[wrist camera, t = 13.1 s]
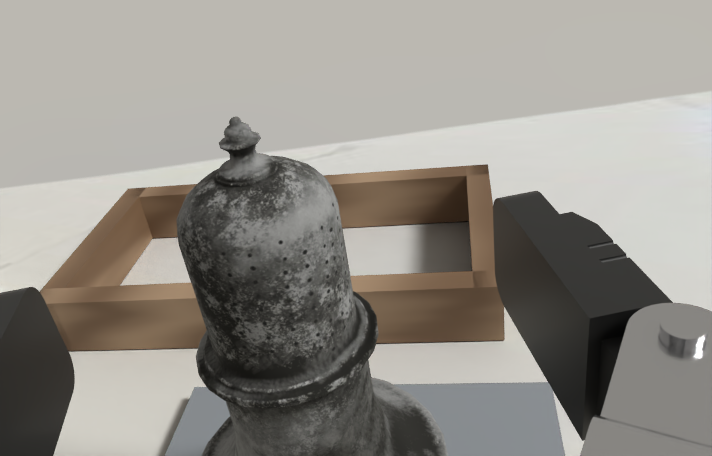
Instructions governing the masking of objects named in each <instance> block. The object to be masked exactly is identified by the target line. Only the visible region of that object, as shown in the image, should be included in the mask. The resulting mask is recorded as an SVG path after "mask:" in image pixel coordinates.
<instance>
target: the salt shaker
mask: <svg viewBox="0 0 712 456" xmlns="http://www.w3.org/2000/svg"><path fill="white" fill-rule="evenodd" d="M229 123H230V125H229V126H228V127H227V128H226V129H225V131H224V135H225V138H223V139H222V140H221V141H220V142H219V145H220V148H221V149H223V150H226V151H228V152H229V154H230V160H228V161H226V162H225V163H224V164H222V166H221V167H220V168H219V169H217V170H215V171H213V172H212V173H210V174H209V175H208V176H206V177H205V178H204V179H203V180H201V181H200V182H199V183H198V184H197V185H196V186H195V187H193V189H192V190H191V191H190V192H189V193H188V194H187V196H186V198H185V200H184V202H183V204H182V207H181V209H180V211H179V214H178V217H177V219H176V220H177V235H178V242H179V246H180V249H181V252H182V256H183V259H184V262H185V265H186V268H187V271H188V274H189V277H190V280H191V283H192V286H193V289H194V293H195V296H196V299H197V302H198V305H199V308H200V311H201V314H202V317H203V320H204V323H205V326H206V332H205V334H204V335H203V337H202V339H201V340H200V343H199V347H198V351H197V355H196V361H197V367H198V373H199V376H200V377H201V379H202V380H203V382H204V384H205V385H206V387H207V388H208V390H210V391H211V392H213V393H214V394H216V395H217V396H218V397H220V398H221V399H223V400H224V401H226V404H227V407H228V410H229V413H230V417H229V418H228V419H227V420H226V421H225V422H224V423H223V425H222V426H221V427H220V428H219V429H218V431H217V432H216V433H215V434H214V436H213V437H212V438H211V439H210V441H209V442H208V443H207V445H206V447H205V450H204V452H203V454H202V456H448V453H447V448H446V444H445V439H444V435H443V433H442V431H441V430H440V428H439V426H438V424H437V423H436V421H435V419H434V418H433V416H432V414H431V413H430V411H429V410H427V409H426V408H425V407H424V406H423V405H422V404H421V403H420V402H419V401H418V400H417V399H416V398H415V397H413V396H412V395H411V394H410V393H408V392H406V391H404V390H402V389H400V388H398V387H396V386H395V385H393V384H391V383H389V382H387V381H383V380H380V379H376V378H372V377H371V374H370V368H369V362H368V359H369V357H370V356H371V354H372V353H373V351H374V349H375V345H376V342H377V338H378V334H379V333H378V324H377V316H376V314H375V312H374V310H373V309H372V307H371V305H370V303H369V302H368V301H367V300H365V299H364V298H363V297H362V296H360V295H359V294H358V293H357V292H355V291H353V289H352V283H351V277H350V271H349V265H348V259H347V253H346V248H345V242H344V236H343V230H342V224H341V218H340V212H339V206H338V200H337V198H336V196H335V193H334V191H333V189H332V186H331V185H330V183H329V182H328V180H327V179H326V178H325V177H324V176H323V175H322V174H320V173H319V172H318V171H317V170H316V169H314V168H313V167H311V166H309V165H308V164H306V163H303V162H299V161H296V160H292V159H289V158H285V157H279V156H268V155H265V154H260V153H256V151H255V145H256V144H257V143H258V141H259V140H260V139H261V137H260V135H259V133H256V132H252V131H251V128H250V127H249V125H248V124H246V123H243V122H241V120H240V118H238V117H233V118H231V119H230V121H229Z"/></svg>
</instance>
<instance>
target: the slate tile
mask: <svg viewBox="0 0 712 456" xmlns="http://www.w3.org/2000/svg"><path fill="white" fill-rule="evenodd" d="M395 386H396V387H398V388H400V389H402V390H404V391H406V392H408V393H410V394H411V395H412V396H413V397H415V398H416V399H417V400H418V401H419V402H420V403H421V404H422V405H423V406H424V407H425V408H426V409H427V410H429V411H430V413H431V414H432V416H433V418H434V419H435V421H436V423H437V424H438V426H439V428H440V430H441V431H442V433H443V435H444V439H445V444H446V448H447V453H448V456H565V453H564V447H563V442H562V437H561V432H560V426H559V421H558V416H557V411H556V406H555V400H554V395H553V390H552V388H551V386H550V384H549V382H538V383H467V384H397V385H395ZM229 417H230V413H229V410H228V407H227V404H226V401H224V400H223V399H221V398H220V397H218V396H217V395H216V394H214V393H213V392H211V391H210V390H208V388H207V387H195V388H194V390H193V392H192V395H191V397H190V399H189V401H188V404H187V406H186V408H185V410H184V413H183V415H182V417H181V420H180V422H179V424H178V426H177V429H176V431H175V433H174V435H173V438H172V440H171V442H170V445H169V447H168V449H167V451H166V454H165V456H202V454H203V452H204V450H205V447H206V445H207V443H208V442H209V441H210V439H211V438H212V437H213V436H214V434H215V433H216V432H217V431H218V429H219V428H220V427H221V426H222V425H223V423H224V422H225V421H226V420H227V419H228V418H229Z"/></svg>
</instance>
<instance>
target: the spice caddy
mask: <svg viewBox="0 0 712 456" xmlns="http://www.w3.org/2000/svg"><path fill="white" fill-rule="evenodd" d="M324 177H325V178H326V179H327V180H328V182H329V183H330V185H331V186H332V189H333V191H334V193H335V196H336V198H337V200H338V206H339V212H340V218H341V224H342V228H348V227H367V226H385V225H404V224H422V223H441V222H459V221H469V233H470V249H471V265H472V271H461V272H437V273H413V274H389V275H365V276H350V277H351V283H352V289H353V291H355V292H357V293H358V294H359V295H360V296H362V297H363V298H364V299H365V300H367V301H368V302H369V303H370V305H371V307H372V309H373V310H374V312H375V314H376V316H377V324H378V333H379V334H378V338H377V342H376V343H409V342H450V341H491V340H504V305H503V303H502V300H501V298H500V295H499V292H498V288H497V284H496V278H495V263H494V231H493V202H492V195H491V187H490V179H489V171H488V165H473V166H459V167H444V168H429V169H414V170H399V171H385V172H370V173H355V174H340V175H325V176H324ZM196 185H197V184H192V185H177V186H163V187H148V188H133V189H128V190H127V191H126V192H125V193H124V194H123V195H122V196H121V198H120V199H119V200H118V201H117V202H116V203H115V205H114V206H113V207H112V208H111V209H110V210H109V212H108V213H107V214H106V215H105V216H104V217H103V219H102V220H101V221H100V222H99V223H98V224H97V226H96V227H95V228H94V229H93V230H92V231H91V233H90V234H89V235H88V236H87V237H86V238H85V240H84V241H83V242H82V243H81V244H80V245H79V247H78V248H77V249H76V250H75V251H74V252H73V254H72V255H71V256H70V257H69V258H68V259H67V260H66V262H65V263H64V264H63V265H62V266H61V267H60V269H59V270H58V271H57V272H56V273H55V274H54V276H53V277H52V278H51V279H50V280H49V281H48V283H47V284H46V285H45V286H44V287H43V288H42V290H41V291H40V293H41V295H42V296H43V298H44V300H45V302H46V305H47V307H48V309H49V311H50V313H51V315H52V317H53V320H54V322H55V324H56V326H57V328H58V330H59V332H60V335H61V337H62V339H63V341H64V343H65V345H66V348H67V350H68V351H83V350H124V349H165V348H198V347H199V343H200V340H201V339H202V337H203V335H204V334H205V332H206V326H205V323H204V320H203V317H202V314H201V311H200V308H199V305H198V302H197V299H196V296H195V293H194V289H193V286H192V283H173V284H149V285H125V286H119V285H120V284H121V283H122V281H123V280H124V278H125V277H126V275H127V274H128V273H129V271H130V270H131V268H132V267H133V265H134V264H135V263H136V261H137V260H138V258H139V257H140V255H141V254H142V253H143V251H144V250H145V248H146V247H147V245H148V244H149V243H150V241H151V240H152V238H163V237H178V235H177V220H176V219H177V217H178V214H179V211H180V209H181V207H182V204H183V202H184V200H185V198H186V196H187V194H188V193H189V192H190V191H191V190H192V189H193V187H195V186H196Z"/></svg>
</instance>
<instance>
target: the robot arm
mask: <svg viewBox="0 0 712 456" xmlns="http://www.w3.org/2000/svg"><path fill="white" fill-rule="evenodd" d="M493 231H494V263H495V278H496V284H497V288H498V292H499V295H500V298H501V300H502V303H503V305H504V307H505V308H506V310H507V312H508V314H509V315H510V317H511V319H512V321H513V322H514V324H515V326H516V327H517V329H518V331H519V333H520V334H521V336H522V338H523V339H524V341H525V343H526V345H527V346H528V348H529V350H530V351H531V353H532V355H533V357H534V358H535V360H536V362H537V364H538V365H539V367H540V369H541V370H542V372H543V374H544V376H545V377H546V379H547V381H548V382H549V384H550V386H551V388H552V389H553V391H554V393H555V395H556V396H557V398H558V400H559V401H560V403H561V405H562V407H563V408H564V410H565V412H566V413H567V415H568V417H569V419H570V420H571V422H572V424H573V425H574V427H575V429H576V431H577V432H578V434H579V436H580V438H581V439H582V441H583V440H585V441H584V445H583V448H582V451H581V455H580V456H712V312H711V311H709V310H707V309H704V308H701V307H698V306H693V305H689V304H681V303H673V302H672V301H671V300H670V299H669V298H668V297H667V296H666V295H665V294H664V293H663V292H662V291H661V290H660V289H659V288H658V287H657V286H656V285H655V284H654V283H653V282H652V280H651V279H650V278H649V277H648V276H647V275H646V274H645V273H644V272H643V271H642V270H641V269H640V268H639V267H638V266H637V265H636V264H635V263H634V262H633V261H632V260H631V259H630V258H627V257H626V253H625V252H624V251H623V250H622V249H621V248H620V247H619V246H618V245H617V244H614V243H613V240H612V239H611V238H610V237H609V236H608V235H607V234H606V233H605V232H604V231H603V230H602V229H601V227H600V226H599V225H598V224H596V223H594V222H592V221H590V220H588V219H586V218H584V217H582V216H579V215H577V214H575V213H573V212H569V213H564V214H559V213H558V212H557V211H556V210H555V209H554V208H553V207H552V205H551V204H550V203H549V202H548V201H547V200H546V199H545V197H544V196H543V195H542V194H541V193H540V192H538V191H533V192H528V193H523V194H517V195H512V196H507V197H502V198H497V199H495V201H494V205H493ZM73 390H74V368H73V363H72V360H71V357H70V354H69V352H68V350H67V348H66V345H65V343H64V341H63V339H62V337H61V335H60V332H59V330H58V328H57V326H56V324H55V322H54V320H53V317H52V315H51V313H50V311H49V309H48V307H47V305H46V302H45V300H44V298H43V296H42V295H41V293H40V292H39V291H38V290H37V289H36V288H33V287H29V288H24V289H18V290H13V291H8V292H3V293H0V456H53V454H54V451H55V448H56V444H57V441H58V438H59V435H60V432H61V429H62V425H63V422H64V419H65V416H66V413H67V410H68V406H69V403H70V400H71V397H72V394H73Z"/></svg>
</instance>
